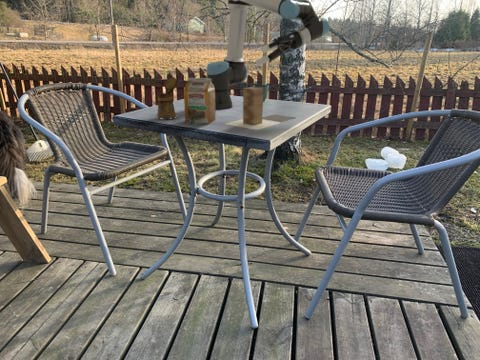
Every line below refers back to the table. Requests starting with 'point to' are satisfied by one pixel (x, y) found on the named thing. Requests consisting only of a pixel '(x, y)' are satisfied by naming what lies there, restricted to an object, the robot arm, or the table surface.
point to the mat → (278, 118)
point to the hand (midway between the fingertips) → (259, 57)
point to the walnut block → (252, 105)
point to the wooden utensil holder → (167, 100)
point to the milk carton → (199, 101)
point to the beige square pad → (255, 127)
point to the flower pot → (265, 90)
